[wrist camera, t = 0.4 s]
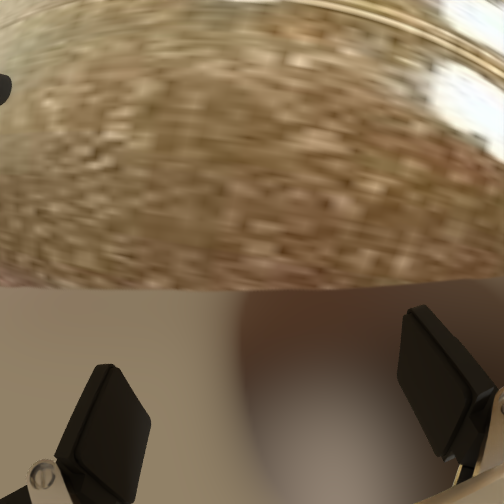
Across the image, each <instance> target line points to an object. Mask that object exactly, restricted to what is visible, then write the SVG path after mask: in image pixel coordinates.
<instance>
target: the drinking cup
mask: <svg viewBox="0 0 504 504" xmlns="http://www.w3.org/2000/svg"><path fill="white" fill-rule="evenodd" d="M11 88H12V83H11V79H10V78H9V76H7V75H3V74H0V105H2V104H3V103H4V102H5V101H6V100H7V99H8V97H9V95H10V92H11Z"/></svg>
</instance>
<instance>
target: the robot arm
mask: <svg viewBox="0 0 504 504" xmlns="http://www.w3.org/2000/svg"><path fill="white" fill-rule="evenodd" d="M397 379H398V382H399V384H400V386H401V388H402V390H403V392H404V394H405V396H406V397H407V399H408V401H409V403H410V405H411V407H412V409H413V411H414V413H415V415H416V417H417V418H418V420H419V423H420V424H421V427H422V429H423V431H424V432H425V435H426V437H427V439H428V440H429V443H430V445H431V447H432V449H433V451H434V453H435V455H436V456H437V457H440V456H441V457H442V459H443V461H444V462H447V461H449V460H450V459H453V458H455V457H456V459H457V461H458V463H459V464H460V466H459V468H458V472H457V475H456V477H455V480H454V484H453V486H452V488H450V489H448V490H445V491H443V492H441V493H439V494H436V495H435V496H432V497H429V498H427V499H425V500H423V501H420V502H417V503H415V504H504V387H503V388H501V389H500V390H499V389H498V388H497V387H496V386H495V384H494V383H493V382H492V380H491V379H490V378H489V376H488V375H487V374H486V373H485V371H484V370H483V369H482V368H481V366H480V365H479V364H478V363H477V361H476V360H475V359H474V358H473V357H472V355H471V354H470V353H469V352H468V351H467V349H466V348H465V347H464V346H463V345H462V344H461V342H460V341H459V340H458V339H457V338H456V337H454V336H453V335H452V334H451V333H450V332H449V331H448V329H447V328H446V327H445V326H444V325H443V324H442V322H441V321H440V320H439V319H438V318H437V317H436V316H435V315H434V314H433V312H432V311H431V310H430V309H429V308H428V307H427V306H426V305H421V306H417V307H414V308H411V309H408V311H407V314H406V315H404V316H403V322H402V333H401V344H400V353H399V362H398V370H397ZM150 428H151V420H150V417H149V415H148V414H147V413H146V411H145V409H144V408H143V406H142V405H141V403H140V401H139V400H138V398H137V397H136V395H135V394H134V392H133V390H132V389H131V387H130V385H129V384H128V382H127V380H126V379H125V377H124V375H123V374H122V372H121V370H120V369H119V368H116V367H115V366H114V365H113V364H101V365H97V366H96V367H95V369H94V371H93V373H92V375H91V376H90V379H89V381H88V383H87V384H86V387H85V388H84V391H83V393H82V395H81V397H80V399H79V401H78V403H77V405H76V408H75V409H74V412H73V414H72V416H71V418H70V420H69V422H68V425H67V428H66V429H65V432H64V434H63V436H62V438H61V441H60V443H59V445H58V448H57V450H56V453H55V455H54V456H55V457H56V458H57V461H56V463H55V462H54V461H53V460H50V459H42V460H39V461H37V462H35V463H34V464H33V465H32V466H31V467H30V469H29V471H28V472H27V477H26V482H27V485H26V486H24V487H22V488H20V489H19V490H17V491H15V492H13V493H11V494H9V495H7V496H6V497H4V498H2V499H0V504H131V503H133V502H134V501H135V496H136V492H137V487H138V481H139V477H140V472H141V468H142V463H143V459H144V454H145V449H146V445H147V441H148V436H149V432H150Z"/></svg>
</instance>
